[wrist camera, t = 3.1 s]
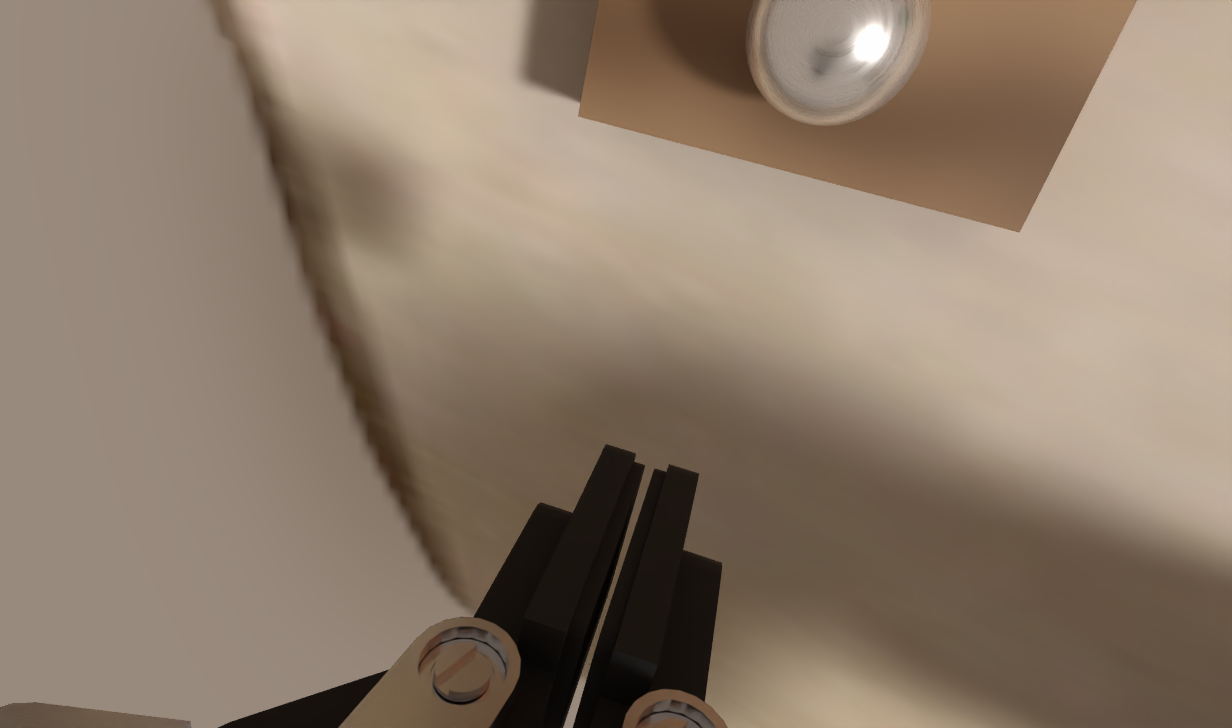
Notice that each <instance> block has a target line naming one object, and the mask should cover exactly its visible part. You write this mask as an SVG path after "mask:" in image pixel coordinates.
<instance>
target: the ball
mask: <svg viewBox="0 0 1232 728" xmlns="http://www.w3.org/2000/svg"><path fill="white" fill-rule="evenodd" d="M930 22H931V4H930V0H754V1H753V4H752V7H751V10H750V13H749V17H748V22H747V28H746V55H747V61H748V65H749V69H750V72H751V75H752V77H753V80H754V82H755V84H756V86H757V87H758V89H759V91H760V92H761V94H762V95H763V96H764V98H765V99H766V100H767V101H768V102H769V103H770V104H771V105H772V106H773V107H774V108H775V109H776V110H778V111H779V112H781V113H782V114H783V115H785V116H787V117H789V118H791V119H793V120H795V121H798V122H801V123H805V124H810V125H816V126H832V125H840V124H845V123H849V122H852V121H855V120H858V119H861V118H863V117H865V116H867V115H869V114H871V113H873V112H875V111H876V110H878V109H879V108H881V107H882V106H884V105H885V104H886V103H887V102H888V101H890V100H891V99H892V98H893V97H894V96H895V95H896V94H897V93H898V92H899V91H900V90H901V89H902V88H903V87H904V85H905V84H906V83H907V81H908V80H909V79H910V77H911V76H912V74H913V73H914V71H915V69H916V68H917V66H918V64H919V62H920V59H921V57H922V55H923V53H924V50H925V47H926V43H927V40H928V35H929V30H930Z"/></svg>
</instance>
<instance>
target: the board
mask: <svg viewBox="0 0 1232 728" xmlns="http://www.w3.org/2000/svg"><path fill="white" fill-rule="evenodd" d="M753 1H754V0H598V6H597V12H596V18H595V23H594V29H593V35H592V40H591V46H590V52H589V57H588V63H587V69H586V75H585V80H584V86H583V92H582V97H581V103H580V109H579V115H578V116H579V117H582V118H586V119H590V120H594V121H598V122H601V123H605V124H609V125H613V126H617V127H620V128H624V129H628V130H632V131H636V132H639V133H643V134H647V135H651V136H655V137H658V138H662V139H666V140H670V141H674V142H677V143H681V144H685V145H689V146H693V147H697V148H700V149H704V150H708V151H712V152H716V153H719V154H723V155H727V156H731V157H735V158H738V159H742V160H746V161H750V162H754V163H757V164H761V165H765V166H769V167H773V168H776V169H780V170H784V171H788V172H792V173H795V174H799V175H803V176H807V177H811V178H814V179H818V180H822V181H826V182H830V183H833V184H837V185H841V186H845V187H849V188H852V189H856V190H860V191H864V192H868V193H872V194H875V195H879V196H883V197H887V198H891V199H894V200H898V201H902V202H906V203H910V204H913V205H917V206H921V207H925V208H929V209H932V210H936V211H940V212H944V213H948V214H951V215H955V216H959V217H963V218H967V219H970V220H974V221H978V222H982V223H986V224H989V225H993V226H997V227H1001V228H1005V229H1008V230H1012V231H1016V232H1020V230H1021V228H1022V226H1023V224H1024V222H1025V221H1026V219H1027V217H1028V215H1029V213H1030V211H1031V209H1032V207H1033V205H1034V203H1035V201H1036V199H1037V197H1038V195H1039V193H1040V191H1041V189H1042V187H1043V185H1044V183H1045V181H1046V179H1047V177H1048V175H1049V173H1050V171H1051V169H1052V167H1053V165H1054V163H1055V161H1056V159H1057V157H1058V155H1059V153H1060V151H1061V149H1062V147H1063V145H1064V144H1065V142H1066V140H1067V138H1068V136H1069V134H1070V132H1071V130H1072V128H1073V126H1074V124H1075V122H1076V120H1077V118H1078V116H1079V114H1080V112H1081V110H1082V108H1083V106H1084V104H1085V102H1086V100H1087V98H1088V96H1089V94H1090V92H1091V90H1092V88H1093V86H1094V84H1095V82H1096V80H1097V78H1098V76H1099V74H1100V72H1101V70H1102V68H1103V67H1104V65H1105V63H1106V61H1107V59H1108V57H1109V55H1110V53H1111V51H1112V49H1113V47H1114V45H1115V43H1116V41H1117V39H1118V37H1119V35H1120V33H1121V31H1122V29H1123V27H1124V25H1125V23H1126V21H1127V19H1128V17H1129V15H1130V13H1131V11H1132V9H1133V7H1134V5H1135V3H1136V1H1137V0H930V4H931V22H930V30H929V35H928V40H927V43H926V47H925V50H924V53H923V55H922V57H921V59H920V62H919V64H918V66H917V68H916V69H915V71H914V73H913V74H912V76H911V77H910V79H909V80H908V81H907V83H906V84H905V85H904V87H903V88H902V89H901V90H900V91H899V92H898V93H897V94H896V95H895V96H894V97H893V98H892V99H891V100H890V101H888V102H887V103H886V104H885V105H884V106H882V107H881V108H879V109H878V110H876V111H875V112H873V113H871V114H869V115H867V116H865V117H863V118H861V119H858V120H855V121H852V122H849V123H845V124H840V125H832V126H816V125H810V124H805V123H801V122H798V121H795V120H793V119H791V118H789V117H787V116H785V115H783V114H782V113H781V112H779V111H778V110H776V109H775V108H774V107H773V106H772V105H771V104H770V103H769V102H768V101H767V100H766V99H765V98H764V96H763V95H762V94H761V92H760V91H759V89H758V87H757V86H756V84H755V82H754V80H753V77H752V75H751V72H750V69H749V65H748V61H747V55H746V28H747V22H748V17H749V13H750V10H751V7H752V4H753Z"/></svg>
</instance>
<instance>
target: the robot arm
mask: <svg viewBox="0 0 1232 728" xmlns="http://www.w3.org/2000/svg"><path fill="white" fill-rule="evenodd" d="M635 456H636V453H632V452H629V451H626V450H623V449H620V448H617V447H614V446H610V445H607V444H606V445H605V447H604V449H603V451H602V453H601V455H600V457H599V459H598V462H597V464H596V466H595V468H594V470H593V472H592V474H591V476H590V478H589V480H588V483H587V485H586V487H585V489H584V491H583V493H582V495H581V497H580V499H579V501H578V503H577V506H576V508H575V510H574V512H573V513H571V512H568V511H565V510H562V509H559V508H556V507H553V506H550V505H547V504H544V503H539V504H538V505H537V507H536V508H535V510H534V511H533V513H532V515H531V517H530V518H529V520H528V522H527V524H526V526H525V527H524V529H523V531H522V533H521V534H520V536H519V538H518V540H517V541H516V543H515V545H514V547H513V548H512V550H511V552H510V554H509V556H508V557H507V559H506V561H505V563H504V564H503V566H502V568H501V570H500V571H499V573H498V575H497V577H496V578H495V580H494V582H493V584H492V586H491V587H490V589H489V591H488V593H487V594H486V596H485V598H484V600H483V601H482V603H481V605H480V607H479V608H478V610H477V612H476V614H475V616H474V617H473V618H472V617H459V618H452V619H447V620H444V621H442V622H440V623H437V624H435V625H433V626H431V627H429V628H428V629H427V630H426V631H425V632H423V633H422V634H421V635H420V636H419V637H418V638H417V639H416V640H415V641H414V642H413V643H412V644H411V645H410V646H409V648H408V649H407V650H406V651H405V652H404V653H403V654H402V656H401V657H400V658H399V659H398V660H397V661H396V663H395V664H394V665H393V666H392V667H391V668H390V669H389V670H386V671H383V672H381V673H377V674H375V675H371V676H368V677H365V678H362V679H359V680H356V681H353V682H350V683H347V684H344V685H341V686H338V687H335V688H332V689H329V690H326V691H323V692H320V693H317V694H314V695H311V696H308V697H305V698H302V699H299V700H296V701H293V702H289V703H286V704H283V705H281V706H278V707H274V708H271V709H269V710H265V711H262V712H259V713H257V714H253V715H250V716H247V717H244V718H241V719H238V720H235V721H232V722H229V723H227V724H225V725H223V726H221V727H218V728H563V726H564V723H565V720H566V717H567V714H568V711H569V708H570V705H571V702H572V699H573V696H574V693H575V690H576V688H577V685H578V682H579V679H580V676H581V673H582V670H583V667H584V664H585V661H586V658H587V655H588V652H589V649H590V646H591V643H592V640H593V637H594V634H595V632H596V629H597V626H598V623H599V620H600V617H601V614H602V611H603V608H604V605H605V602H606V599H607V596H608V593H609V590H610V587H611V583H612V580H613V577H614V573H615V570H616V566H617V563H618V559H619V556H620V552H621V549H622V545H623V542H624V538H625V535H626V531H627V528H628V524H629V521H630V517H631V514H632V510H633V507H634V503H635V500H636V496H637V493H638V489H639V486H640V482H641V479H642V475H643V472H644V468H645V465H643V464H639V463H636V462H634V460H635ZM698 477H699V474H698V473H695V472H692V471H689V470H686V469H683V468H679V467H676V466H673V465H670V464H669V466H668V469H667V472H664V471H661V470H658V469H654V472H653V475H652V478H651V481H650V484H649V487H648V490H647V493H646V496H645V499H644V502H643V505H642V508H641V511H640V514H639V517H638V520H637V523H636V526H635V530H634V533H633V536H632V539H631V542H630V545H629V548H628V551H627V554H626V557H625V560H624V563H623V566H622V569H621V572H620V575H619V578H618V581H617V584H616V587H615V590H614V593H613V596H612V599H611V602H610V606H609V609H608V612H607V615H606V618H605V621H604V624H603V627H602V630H601V633H600V636H599V640H598V643H597V646H596V649H595V653H594V656H593V659H592V663H591V666H590V670H589V673H588V677H587V680H586V684H585V687H584V691H583V694H582V698H581V701H580V705H579V708H578V712H577V715H576V719H575V722H574V725H573V728H727V726H726V724H725V722H724V721H723V719H722V718H721V717H720V716H719V715H718V714H717V713H716V712H715V710H714V709H713V708H712V707H711V706H709V705H708V704H706V703H705V695H706V687H707V680H708V672H709V664H710V657H711V649H712V642H713V634H714V626H715V619H716V611H717V603H718V596H719V588H720V580H721V572H722V563H721V562H718V561H715V560H712V559H709V558H706V557H703V556H700V555H697V554H694V553H691V552H688V551H685V550H683V547H684V542H685V537H686V533H687V528H688V523H689V519H690V514H691V510H692V505H693V500H694V496H695V491H696V486H697V482H698ZM0 728H191V722H190V721H184V720H176V719H168V718H160V717H152V716H142V715H135V714H127V713H119V712H111V711H103V710H94V709H86V708H77V707H70V706H61V705H53V704H44V703H37V702H33V703H12V704H9V705H5V706H2V707H0Z"/></svg>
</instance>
